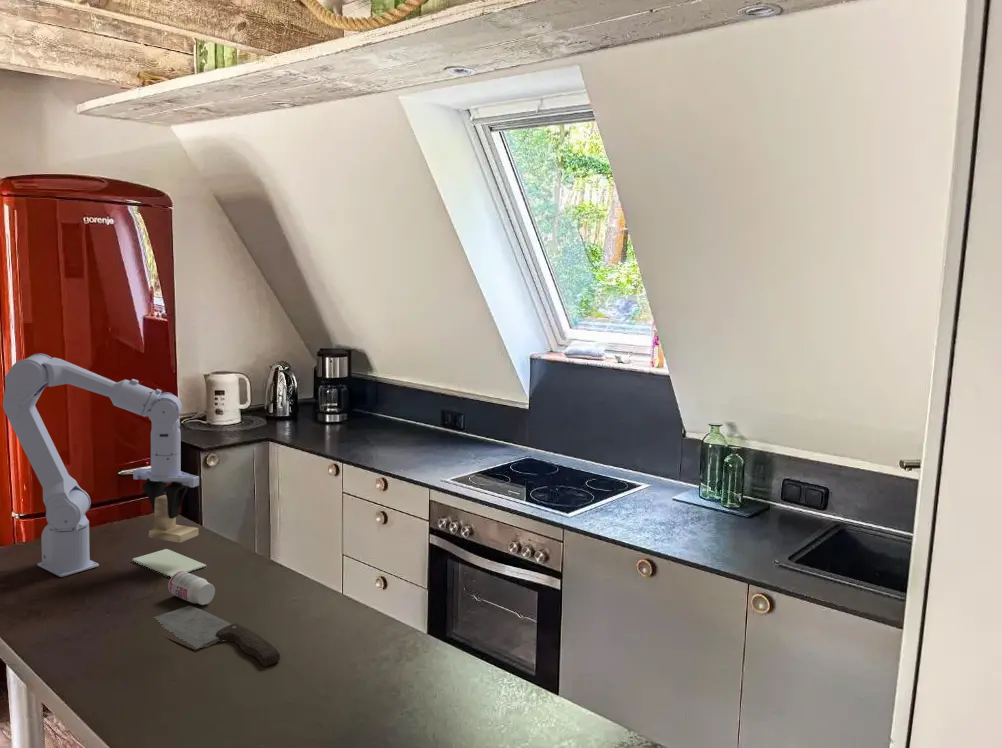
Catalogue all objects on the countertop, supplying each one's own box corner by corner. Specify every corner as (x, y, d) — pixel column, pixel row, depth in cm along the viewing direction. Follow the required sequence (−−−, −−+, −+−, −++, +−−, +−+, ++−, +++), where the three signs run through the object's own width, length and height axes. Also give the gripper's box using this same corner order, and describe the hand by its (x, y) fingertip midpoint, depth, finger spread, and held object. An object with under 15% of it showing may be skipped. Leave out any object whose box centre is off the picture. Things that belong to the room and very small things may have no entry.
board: (132, 561, 173) (132, 558, 173) (166, 551, 179) (166, 548, 179) (172, 578, 165) (172, 575, 165) (206, 567, 171) (206, 564, 171)
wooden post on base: (148, 537, 169) (150, 499, 168) (167, 530, 174) (169, 493, 174) (180, 542, 167) (181, 504, 166) (198, 535, 172) (199, 497, 172)
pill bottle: (162, 584, 155) (191, 596, 150) (181, 565, 158) (209, 576, 153) (175, 600, 157) (203, 612, 153) (192, 580, 160) (221, 592, 156)
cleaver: (292, 658, 136) (292, 646, 136) (243, 680, 128) (243, 668, 128) (187, 609, 153) (187, 598, 153) (138, 626, 145) (138, 615, 145)
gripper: (122, 452, 167) (123, 516, 169) (183, 460, 163) (183, 526, 165) (146, 445, 174) (146, 507, 176) (205, 453, 170) (205, 516, 172)
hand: (166, 515), depth 171 cm, fingers closed on wooden post on base, 3 cm apart
